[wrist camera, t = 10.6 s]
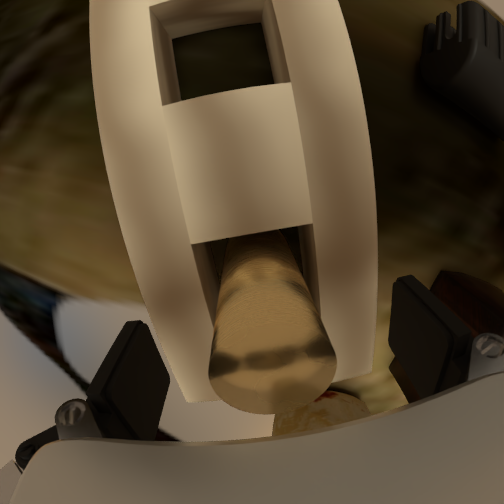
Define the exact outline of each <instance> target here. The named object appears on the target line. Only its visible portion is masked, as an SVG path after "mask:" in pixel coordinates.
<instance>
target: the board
mask: <svg viewBox="0 0 504 504" xmlns="http://www.w3.org/2000/svg"><path fill="white" fill-rule="evenodd" d="M260 22H261V24H262V28H263V33H264V37H265V42H266V46H267V51H268V55H269V60H270V65H271V70H272V75H273V80H274V84H271V85H263V86H256V87H249V88H243V89H237V90H231V91H226V92H220V93H215V94H210V95H206V96H201V97H197V98H192V99H188V100H184V101H181V95H180V89H179V83H178V77H177V71H176V64H175V58H174V51H173V45H172V39H174V38H178V37H182V36H186V35H190V34H194V33H198V32H203V31H208V30H213V29H218V28H224V27H230V26H237V25H244V24H251V23H260ZM90 49H91V64H92V76H93V86H94V95H95V104H96V111H97V118H98V125H99V131H100V137H101V143H102V148H103V154H104V159H105V164H106V169H107V174H108V178H109V183H110V187H111V191H112V196H113V200H114V204H115V208H116V212H117V216H118V219H119V223H120V227H121V230H122V234H123V237H124V241H125V244H126V248H127V251H128V254H129V258H130V261H131V264H132V267H133V270H134V273H135V276H136V279H137V282H138V285H139V288H140V291H141V294H142V297H143V299H144V302H145V305H146V308H147V310H148V313H149V316H150V318H151V321H152V323H153V326H154V329H155V331H156V334H157V336H158V338H159V341H160V343H161V346H162V348H163V351H164V353H165V355H166V358H167V360H168V362H169V364H170V366H171V369H172V371H173V373H174V376H175V378H176V380H177V382H178V384H179V386H180V388H181V391H182V393H183V395H184V397H185V399H186V401H187V402H203V401H217V400H222V399H221V398H220V397H219V396H218V395H217V394H216V393H215V392H214V390H213V388H212V386H211V384H210V381H209V376H208V369H209V361H210V353H211V346H212V339H213V332H214V325H215V318H216V311H217V304H218V298H219V291H220V284H219V280H218V276H217V271H216V267H215V263H214V259H213V254H212V250H211V246H210V241H213V240H218V239H224V238H230V237H235V236H241V235H247V234H252V233H258V232H264V231H270V230H276V229H282V228H288V227H294V226H298V234H299V242H300V250H301V259H302V267H303V277H304V281H305V283H306V285H307V288H308V290H309V292H310V294H311V297H312V299H313V301H314V304H315V306H316V308H317V311H318V313H319V315H320V317H321V320H322V322H323V325H324V327H325V329H326V332H327V334H328V336H329V339H330V341H331V344H332V346H333V348H334V351H335V354H336V357H337V370H336V373H335V376H334V379H333V381H332V382H337V381H341V380H345V379H349V378H353V377H357V376H361V375H364V374H368V373H371V372H372V363H373V354H374V343H375V330H376V314H377V290H378V238H377V213H376V197H375V184H374V174H373V164H372V155H371V147H370V139H369V132H368V125H367V119H366V113H365V107H364V101H363V96H362V91H361V86H360V81H359V76H358V72H357V67H356V63H355V59H354V55H353V51H352V47H351V43H350V39H349V35H348V32H347V28H346V25H345V21H344V18H343V15H342V12H341V8H340V5H339V2H338V0H90ZM332 382H331V383H332Z"/></svg>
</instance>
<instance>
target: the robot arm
mask: <svg viewBox="0 0 504 504" xmlns="http://www.w3.org/2000/svg"><path fill="white" fill-rule="evenodd" d="M471 333H472V331H471V330H470V329H469V328H468V327H467V326H466V325H465V324H464V323H463V322H462V321H461V320H460V319H459V318H458V317H457V316H456V315H455V314H454V313H453V312H452V311H451V310H450V309H449V308H448V307H446V306H445V305H444V304H443V303H442V302H441V301H440V300H439V299H438V298H437V297H436V296H435V295H434V294H433V293H432V292H430V291H429V290H428V289H427V288H426V287H425V286H424V285H423V284H422V283H421V282H419V281H418V280H417V279H416V278H415V277H414V276H413V275H407V276H403V277H399V278H397V280H396V282H394V283H393V289H392V305H391V317H390V328H389V337H388V342H389V346H390V348H391V350H392V351H393V353H394V355H395V356H396V358H397V359H398V361H399V363H400V364H401V366H402V368H403V369H404V371H405V373H406V374H407V376H408V378H409V379H410V381H411V383H412V384H413V386H414V388H415V389H416V391H417V393H418V395H419V396H420V398H421V400H418V401H416V402H413V403H410V404H407V405H404V406H401V407H398V408H395V409H392V410H389V411H386V412H383V413H379V414H376V415H373V416H369V417H365V418H362V419H358V420H354V421H350V422H346V423H342V424H338V425H333V426H329V427H324V428H319V429H314V430H309V431H303V432H297V433H291V434H285V435H278V436H271V437H262V438H253V439H242V440H228V441H209V442H162V441H155V437H156V433H157V429H158V425H159V421H160V417H161V414H162V410H163V406H164V402H165V399H166V395H167V391H168V387H169V384H170V376H169V373H168V371H167V369H166V367H165V365H164V363H163V360H162V358H161V356H160V353H159V351H158V349H157V347H156V344H155V342H154V339H153V337H152V335H151V332H150V330H149V327H148V325H147V324H145V323H143V322H142V321H141V320H137V321H128V322H126V323H125V325H124V326H123V328H122V330H121V331H120V333H119V335H118V336H117V338H116V340H115V342H114V343H113V345H112V347H111V348H110V350H109V352H108V354H107V355H106V357H105V359H104V361H103V362H102V364H101V366H100V368H99V369H98V371H97V373H96V375H95V377H94V378H93V380H92V382H91V384H90V386H89V388H88V390H87V391H86V395H87V396H88V398H87V399H86V401H85V400H82V399H72V400H69V401H67V402H65V403H63V404H62V405H61V406H60V407H59V408H58V410H57V412H56V415H55V423H56V425H55V426H53V427H51V428H49V429H47V430H45V431H43V432H42V433H39V434H37V435H36V436H34V437H32V438H30V439H28V440H26V441H24V442H23V443H21V444H20V445H19V447H18V449H17V451H16V455H15V459H16V462H14V461H13V460H11V461H10V462H9V463H7V464H6V465H5V466H4V467H3V468H2V469H0V504H504V339H503V338H502V337H501V336H499V335H497V334H493V333H484V334H480V335H478V336H476V338H475V339H474V338H473V337H472V336H471Z"/></svg>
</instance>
